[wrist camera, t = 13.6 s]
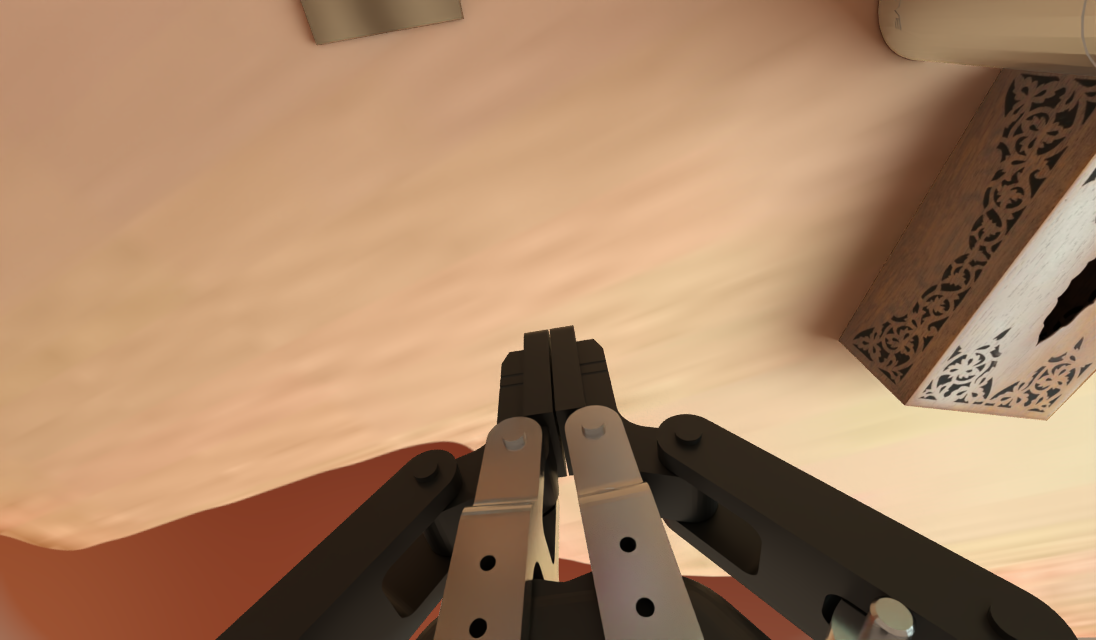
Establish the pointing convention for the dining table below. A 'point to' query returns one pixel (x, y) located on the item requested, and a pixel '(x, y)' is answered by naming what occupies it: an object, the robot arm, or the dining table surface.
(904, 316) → the tissue box cover
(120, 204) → the dining table surface
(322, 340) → the dining table surface
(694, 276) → the dining table surface
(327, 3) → the pipe stand
